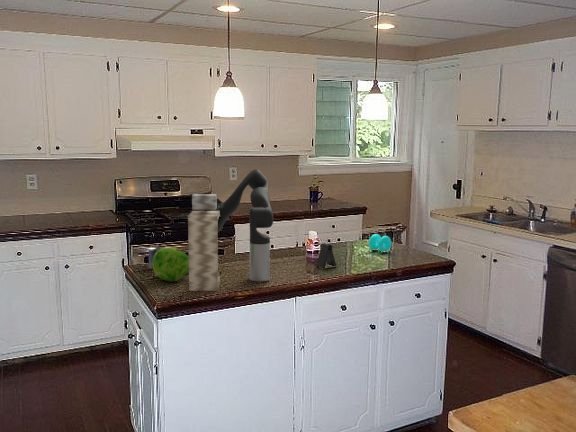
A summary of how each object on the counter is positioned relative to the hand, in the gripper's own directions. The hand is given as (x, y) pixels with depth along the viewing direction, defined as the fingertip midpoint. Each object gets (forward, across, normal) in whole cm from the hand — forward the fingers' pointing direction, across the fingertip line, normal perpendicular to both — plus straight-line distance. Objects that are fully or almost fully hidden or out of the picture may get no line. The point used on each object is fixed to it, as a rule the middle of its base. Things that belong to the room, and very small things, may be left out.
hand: (207, 197), depth 245 cm
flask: (-32, -26, +25) cm, 48 cm away
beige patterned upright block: (-4, 0, +40) cm, 40 cm away
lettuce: (-13, -16, +36) cm, 41 cm away
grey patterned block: (+4, 0, +6) cm, 7 cm away
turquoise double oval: (-64, +94, +7) cm, 114 cm away
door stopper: (-33, +58, +24) cm, 71 cm away
